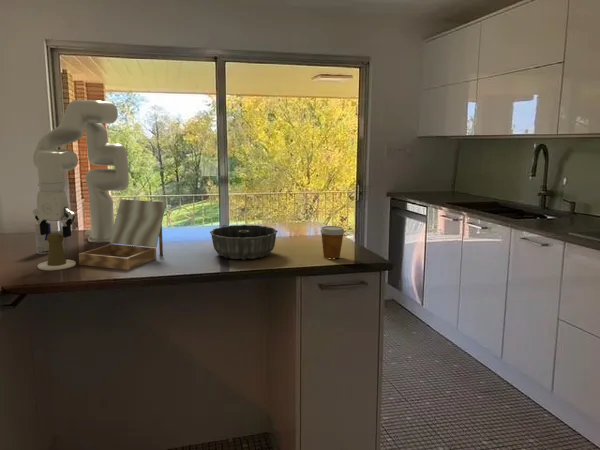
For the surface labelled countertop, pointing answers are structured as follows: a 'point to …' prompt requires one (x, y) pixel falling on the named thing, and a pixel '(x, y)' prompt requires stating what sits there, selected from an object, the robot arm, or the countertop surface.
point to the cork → (55, 250)
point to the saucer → (46, 267)
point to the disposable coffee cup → (332, 241)
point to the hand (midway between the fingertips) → (55, 235)
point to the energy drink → (42, 239)
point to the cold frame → (130, 236)
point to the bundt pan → (243, 241)
